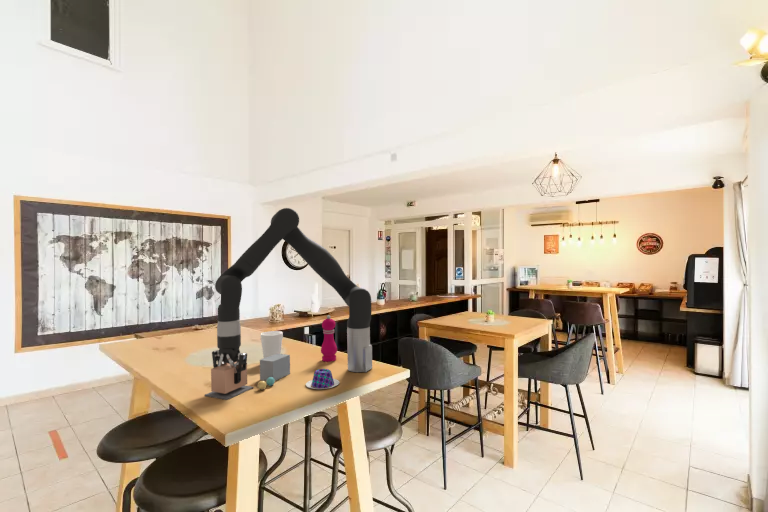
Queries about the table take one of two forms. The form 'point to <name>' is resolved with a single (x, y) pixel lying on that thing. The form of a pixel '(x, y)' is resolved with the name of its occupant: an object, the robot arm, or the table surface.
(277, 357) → the plate
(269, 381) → the marble
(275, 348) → the foam cup
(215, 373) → the cover terracotta
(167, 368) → the table surface
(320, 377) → the pudding
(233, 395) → the mat
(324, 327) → the pepper mill
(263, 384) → the marble
